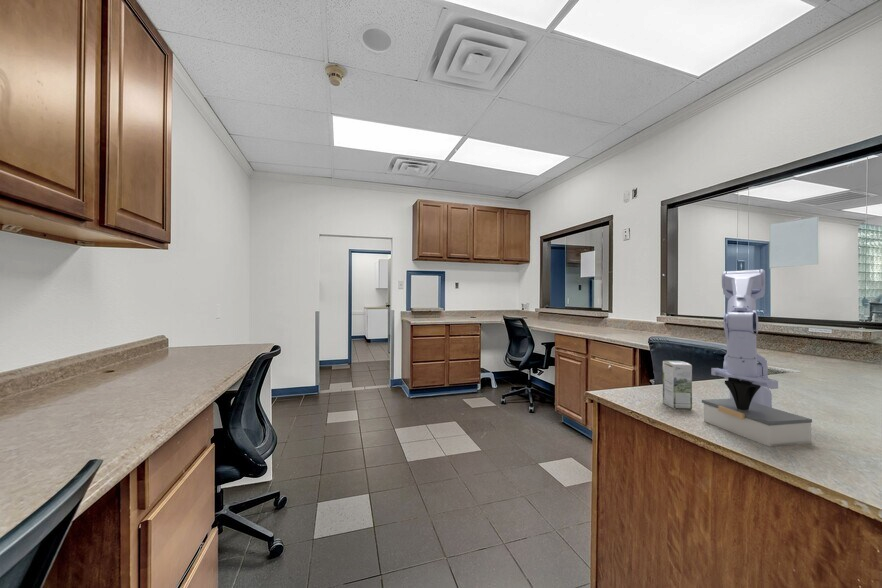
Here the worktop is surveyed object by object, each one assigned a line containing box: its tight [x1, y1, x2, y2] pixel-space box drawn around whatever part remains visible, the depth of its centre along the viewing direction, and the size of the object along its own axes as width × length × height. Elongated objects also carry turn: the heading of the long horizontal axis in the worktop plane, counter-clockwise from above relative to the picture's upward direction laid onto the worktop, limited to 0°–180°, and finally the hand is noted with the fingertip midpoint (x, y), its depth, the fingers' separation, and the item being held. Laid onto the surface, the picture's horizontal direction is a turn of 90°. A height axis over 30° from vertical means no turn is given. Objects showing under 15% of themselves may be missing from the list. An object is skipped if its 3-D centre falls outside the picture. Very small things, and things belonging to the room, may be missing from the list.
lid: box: [701, 398, 813, 425], centre depth 83 cm, size 13×16×1 cm
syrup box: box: [662, 360, 693, 410], centre depth 102 cm, size 6×6×14 cm
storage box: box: [703, 403, 812, 448], centre depth 83 cm, size 12×16×5 cm
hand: (742, 408), depth 82 cm, fingers closed
